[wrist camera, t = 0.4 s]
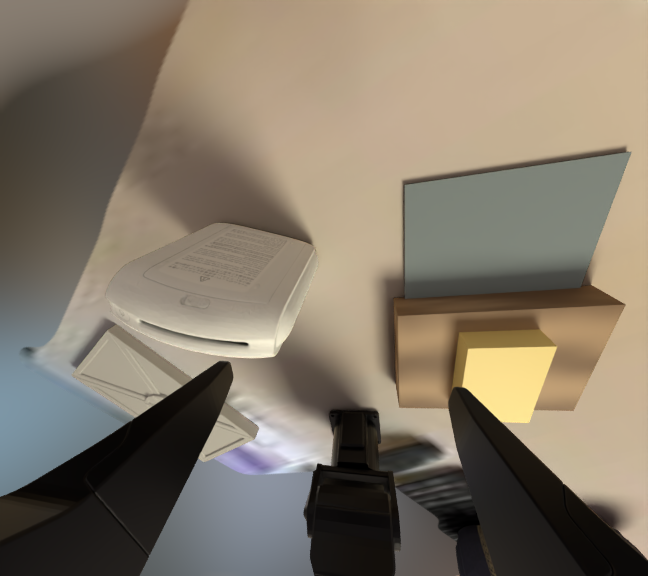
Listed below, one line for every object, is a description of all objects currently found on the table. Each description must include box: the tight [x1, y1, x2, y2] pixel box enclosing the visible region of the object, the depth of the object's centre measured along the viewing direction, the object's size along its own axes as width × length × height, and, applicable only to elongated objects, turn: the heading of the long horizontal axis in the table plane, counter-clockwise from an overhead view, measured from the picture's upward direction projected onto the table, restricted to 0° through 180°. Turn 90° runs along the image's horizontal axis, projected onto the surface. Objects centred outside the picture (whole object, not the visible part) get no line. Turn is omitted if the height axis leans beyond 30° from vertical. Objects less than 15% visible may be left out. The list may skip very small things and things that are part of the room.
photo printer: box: [105, 223, 318, 358], centre depth 17 cm, size 10×4×12 cm, turn 79°
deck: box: [394, 285, 625, 411], centre depth 23 cm, size 12×16×3 cm
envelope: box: [72, 324, 259, 462], centre depth 36 cm, size 24×2×14 cm
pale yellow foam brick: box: [452, 329, 557, 423], centre depth 21 cm, size 9×6×2 cm, turn 9°
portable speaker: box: [456, 525, 645, 576], centre depth 36 cm, size 25×10×10 cm, turn 117°
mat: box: [404, 152, 631, 299], centre depth 19 cm, size 10×14×1 cm
